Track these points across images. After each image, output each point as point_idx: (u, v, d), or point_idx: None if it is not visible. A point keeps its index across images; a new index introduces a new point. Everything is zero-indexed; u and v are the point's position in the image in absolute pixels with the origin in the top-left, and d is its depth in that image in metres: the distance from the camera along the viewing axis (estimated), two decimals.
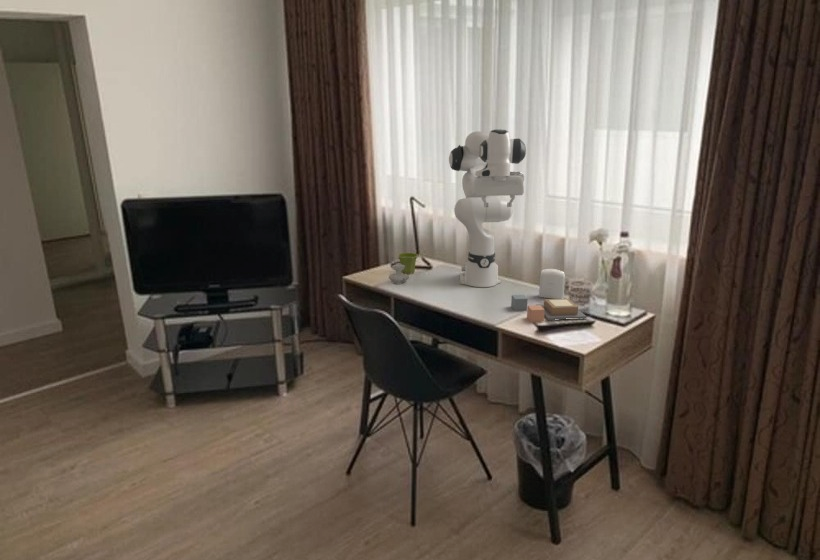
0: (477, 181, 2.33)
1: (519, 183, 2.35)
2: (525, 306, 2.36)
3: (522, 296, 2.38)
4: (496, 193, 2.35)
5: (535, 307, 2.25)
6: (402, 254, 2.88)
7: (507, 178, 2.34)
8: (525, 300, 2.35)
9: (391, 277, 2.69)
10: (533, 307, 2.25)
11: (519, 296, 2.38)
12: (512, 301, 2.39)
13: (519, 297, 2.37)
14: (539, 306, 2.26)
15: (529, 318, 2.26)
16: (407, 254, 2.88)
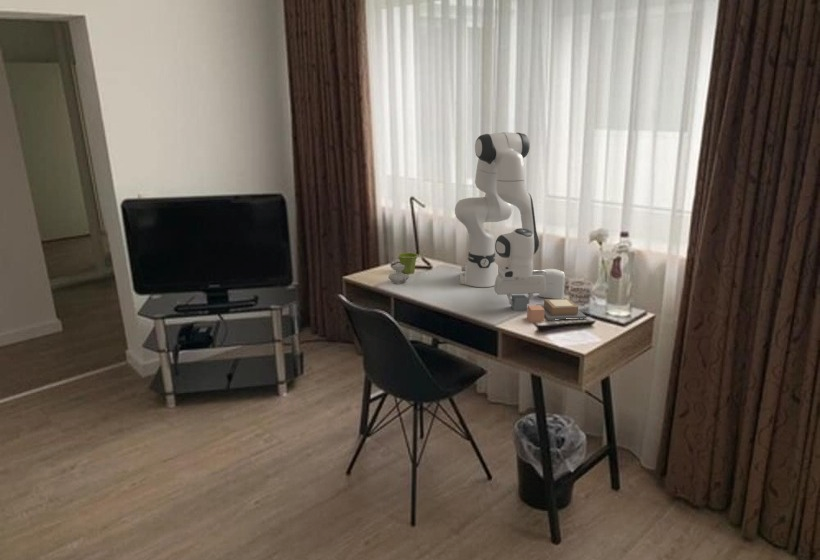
0: (500, 281, 2.32)
1: (541, 282, 2.35)
2: (525, 306, 2.36)
3: (522, 296, 2.38)
4: (518, 292, 2.35)
5: (535, 307, 2.25)
6: (402, 254, 2.88)
7: (530, 277, 2.34)
8: (525, 300, 2.35)
9: (391, 277, 2.69)
10: (533, 307, 2.25)
11: (519, 296, 2.38)
12: None
13: (519, 297, 2.37)
14: (539, 306, 2.26)
15: (529, 318, 2.26)
16: (407, 254, 2.88)
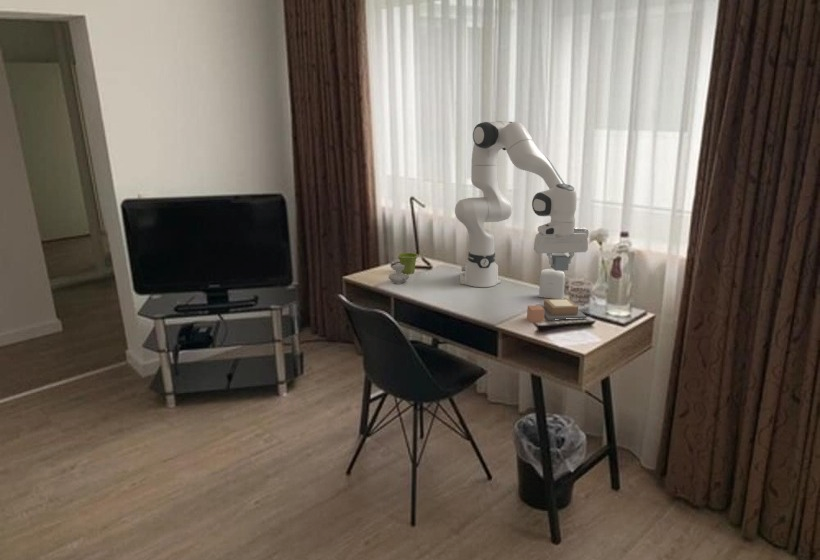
0: (540, 239, 2.22)
1: (583, 240, 2.25)
2: (566, 265, 2.26)
3: (563, 255, 2.28)
4: (559, 251, 2.25)
5: (535, 307, 2.25)
6: (402, 254, 2.88)
7: (571, 235, 2.24)
8: (566, 259, 2.25)
9: (391, 277, 2.69)
10: (533, 307, 2.25)
11: (560, 255, 2.28)
12: None
13: (560, 256, 2.26)
14: (539, 306, 2.26)
15: (529, 318, 2.26)
16: (407, 254, 2.88)
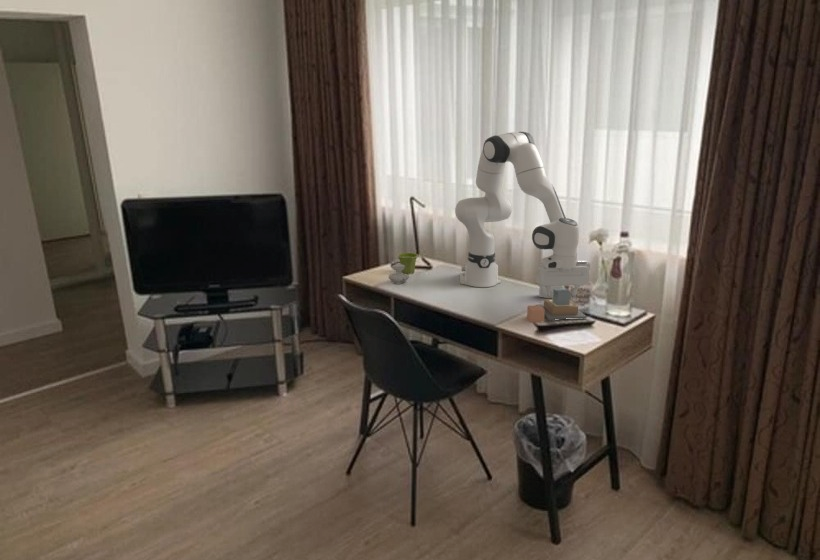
0: (543, 272, 2.25)
1: (585, 273, 2.28)
2: (568, 300, 2.30)
3: (565, 290, 2.31)
4: (561, 283, 2.28)
5: (535, 307, 2.25)
6: (402, 254, 2.88)
7: (573, 268, 2.27)
8: (568, 294, 2.29)
9: (391, 277, 2.69)
10: (533, 307, 2.25)
11: (561, 290, 2.31)
12: (554, 295, 2.32)
13: (561, 291, 2.30)
14: (539, 306, 2.27)
15: (529, 318, 2.26)
16: (407, 254, 2.88)
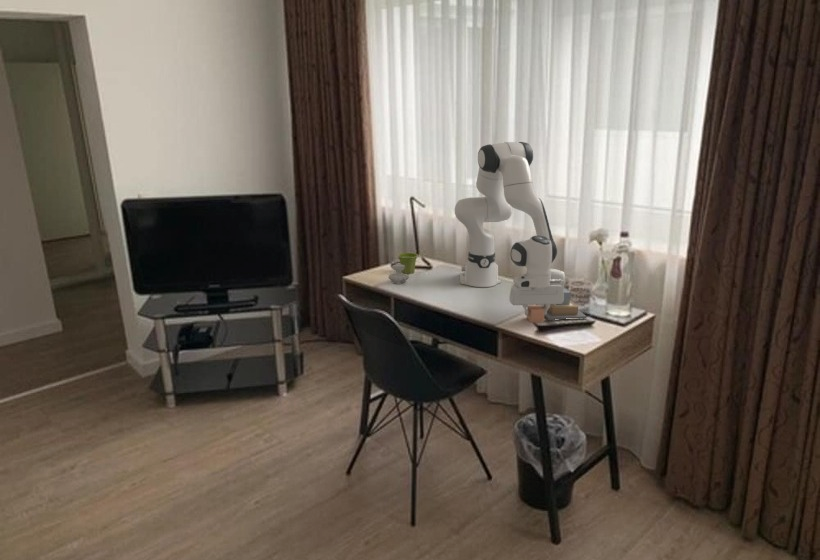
0: (515, 291, 2.20)
1: (559, 292, 2.23)
2: (568, 300, 2.30)
3: (565, 290, 2.31)
4: (535, 303, 2.23)
5: (535, 307, 2.25)
6: (402, 254, 2.88)
7: (547, 287, 2.21)
8: (568, 294, 2.29)
9: (391, 277, 2.69)
10: (533, 307, 2.25)
11: None
12: None
13: None
14: (539, 306, 2.26)
15: (529, 318, 2.26)
16: (407, 254, 2.88)
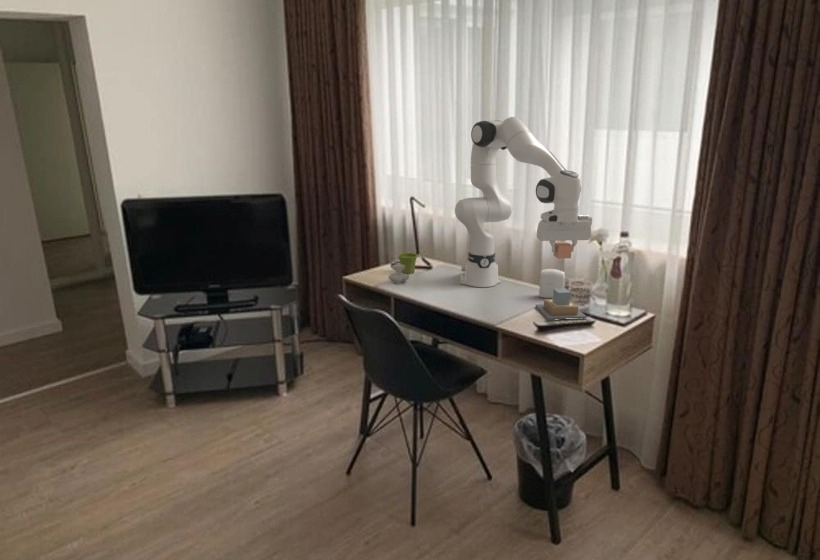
0: (543, 226, 2.19)
1: (587, 228, 2.22)
2: (568, 300, 2.30)
3: (565, 290, 2.31)
4: (562, 238, 2.22)
5: (562, 244, 2.24)
6: (402, 254, 2.88)
7: (574, 223, 2.21)
8: (568, 294, 2.29)
9: (391, 277, 2.68)
10: (560, 243, 2.24)
11: (561, 290, 2.31)
12: (554, 295, 2.32)
13: (561, 291, 2.30)
14: (566, 243, 2.26)
15: (556, 254, 2.25)
16: (407, 254, 2.88)
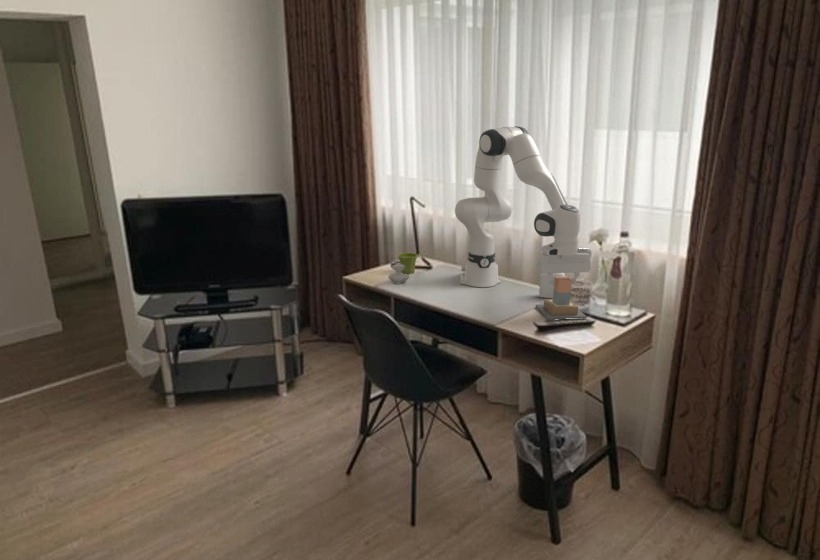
0: (544, 259, 2.24)
1: (586, 260, 2.27)
2: (568, 300, 2.30)
3: None
4: (562, 271, 2.27)
5: (562, 278, 2.29)
6: (402, 254, 2.88)
7: (574, 256, 2.26)
8: (568, 294, 2.29)
9: (391, 277, 2.68)
10: (560, 278, 2.29)
11: None
12: (554, 295, 2.32)
13: None
14: (566, 277, 2.31)
15: (556, 288, 2.30)
16: (407, 254, 2.88)
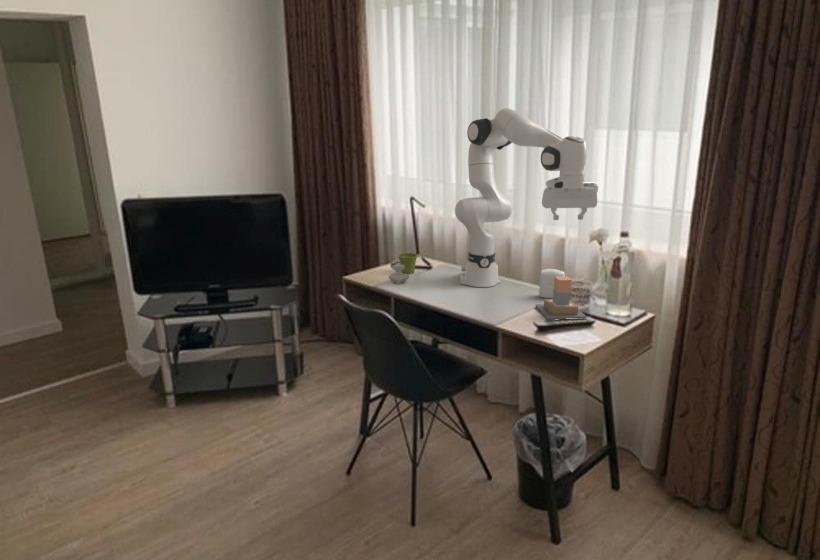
0: (549, 193, 2.17)
1: (593, 195, 2.19)
2: (568, 300, 2.30)
3: None
4: (568, 206, 2.19)
5: (562, 278, 2.29)
6: (402, 254, 2.88)
7: (580, 190, 2.18)
8: (568, 294, 2.29)
9: (391, 277, 2.68)
10: (560, 278, 2.29)
11: None
12: (554, 295, 2.32)
13: None
14: (566, 277, 2.31)
15: (556, 288, 2.30)
16: (407, 254, 2.88)
